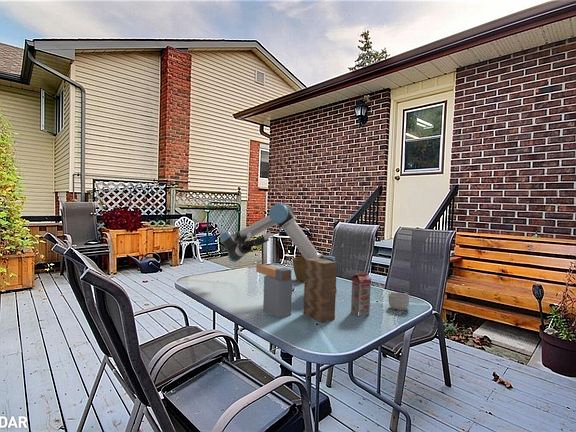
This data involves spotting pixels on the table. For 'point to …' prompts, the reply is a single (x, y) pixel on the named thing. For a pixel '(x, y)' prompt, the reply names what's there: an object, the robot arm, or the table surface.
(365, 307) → the juice carton
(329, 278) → the walnut stand
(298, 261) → the plant pot
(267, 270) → the brown block
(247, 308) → the table surface
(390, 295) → the teacup
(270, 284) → the grey stand
